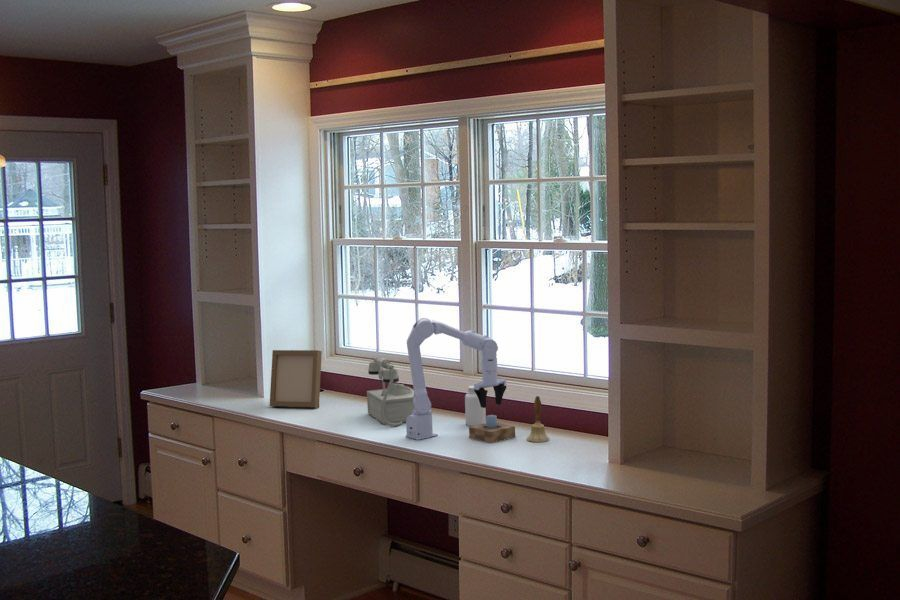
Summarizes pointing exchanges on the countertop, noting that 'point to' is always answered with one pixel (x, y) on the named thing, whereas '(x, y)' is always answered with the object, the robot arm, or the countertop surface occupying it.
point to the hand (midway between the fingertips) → (490, 405)
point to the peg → (491, 421)
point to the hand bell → (537, 425)
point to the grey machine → (389, 395)
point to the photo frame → (295, 378)
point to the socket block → (491, 432)
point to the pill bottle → (474, 409)
